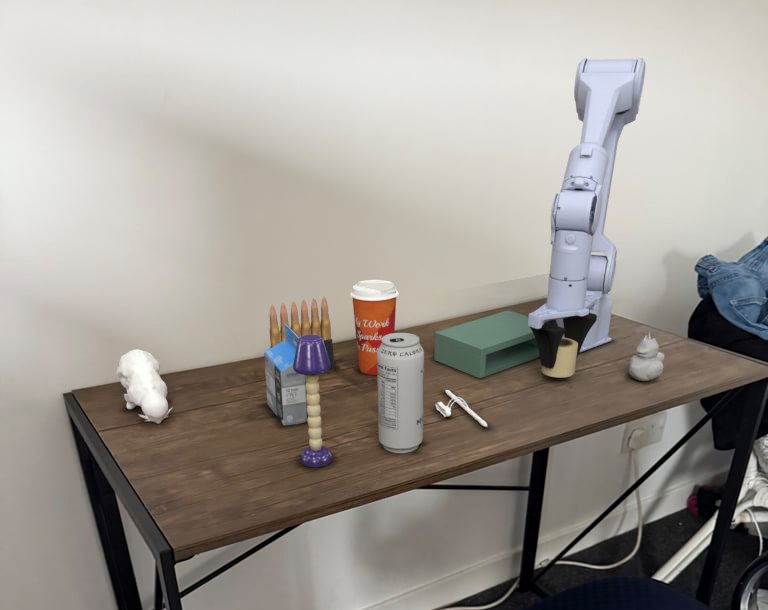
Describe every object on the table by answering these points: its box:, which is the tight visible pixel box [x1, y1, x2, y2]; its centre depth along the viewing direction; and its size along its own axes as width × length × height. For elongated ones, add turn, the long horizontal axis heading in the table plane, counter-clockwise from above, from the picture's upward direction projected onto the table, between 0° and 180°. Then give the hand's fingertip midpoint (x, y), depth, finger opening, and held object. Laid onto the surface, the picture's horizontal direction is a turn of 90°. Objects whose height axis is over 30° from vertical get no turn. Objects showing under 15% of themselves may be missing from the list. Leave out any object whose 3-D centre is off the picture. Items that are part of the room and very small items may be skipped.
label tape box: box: [263, 323, 308, 426], centre depth 110 cm, size 9×4×12 cm, turn 23°
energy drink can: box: [376, 332, 425, 454], centre depth 99 cm, size 6×6×15 cm
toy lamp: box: [293, 335, 333, 468], centre depth 96 cm, size 5×5×17 cm
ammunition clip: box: [269, 296, 336, 370], centre depth 123 cm, size 11×2×12 cm, turn 116°
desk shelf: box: [433, 309, 540, 379], centre depth 130 cm, size 18×11×5 cm, turn 129°
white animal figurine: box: [116, 348, 173, 425], centre depth 111 cm, size 6×8×12 cm
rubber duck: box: [628, 331, 666, 382], centre depth 120 cm, size 5×7×8 cm
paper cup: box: [350, 279, 400, 376], centre depth 123 cm, size 8×8×14 cm
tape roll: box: [541, 338, 578, 379], centre depth 120 cm, size 5×5×5 cm
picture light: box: [434, 389, 488, 428], centre depth 112 cm, size 14×4×2 cm, turn 21°
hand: (558, 362), depth 121 cm, fingers closed on tape roll, 5 cm apart
